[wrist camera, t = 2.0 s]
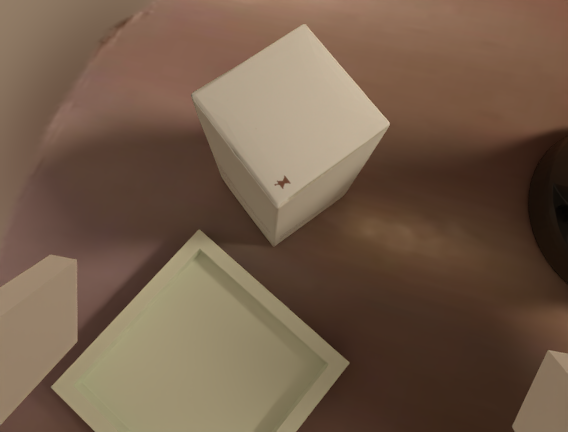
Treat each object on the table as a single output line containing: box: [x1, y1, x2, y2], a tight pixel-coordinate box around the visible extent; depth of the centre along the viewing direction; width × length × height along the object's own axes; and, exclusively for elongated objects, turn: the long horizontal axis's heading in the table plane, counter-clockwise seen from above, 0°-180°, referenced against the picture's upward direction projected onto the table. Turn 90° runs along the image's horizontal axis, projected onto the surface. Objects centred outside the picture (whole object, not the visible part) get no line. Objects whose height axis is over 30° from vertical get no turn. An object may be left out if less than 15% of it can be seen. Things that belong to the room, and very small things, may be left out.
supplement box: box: [191, 24, 390, 247], centre depth 26 cm, size 7×7×13 cm
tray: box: [51, 229, 349, 432], centre depth 28 cm, size 14×14×2 cm
